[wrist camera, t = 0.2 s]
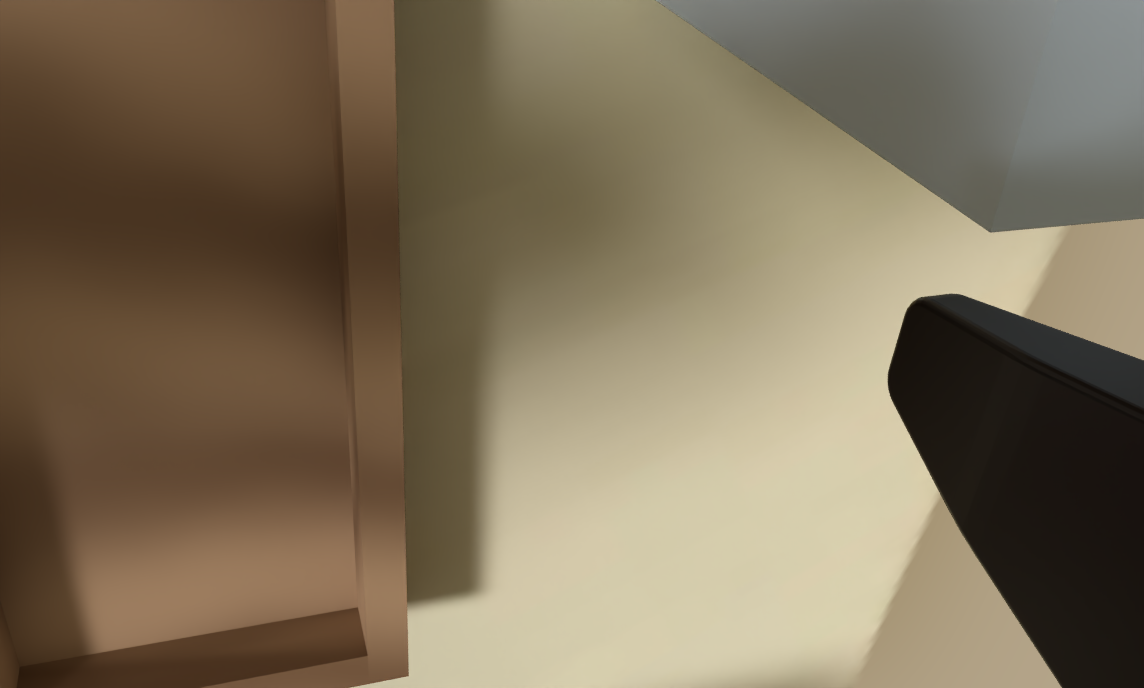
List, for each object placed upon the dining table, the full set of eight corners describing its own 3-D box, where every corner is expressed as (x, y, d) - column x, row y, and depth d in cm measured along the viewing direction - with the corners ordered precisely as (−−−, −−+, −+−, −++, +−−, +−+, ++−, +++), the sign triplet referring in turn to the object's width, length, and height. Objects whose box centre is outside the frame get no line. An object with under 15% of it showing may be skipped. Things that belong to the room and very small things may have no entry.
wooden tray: (391, 606, 29) (408, 675, 27) (-13, 678, 26) (-29, 762, 24) (357, -497, 17) (383, -517, 15) (-415, -590, 14) (-513, -632, 12)
